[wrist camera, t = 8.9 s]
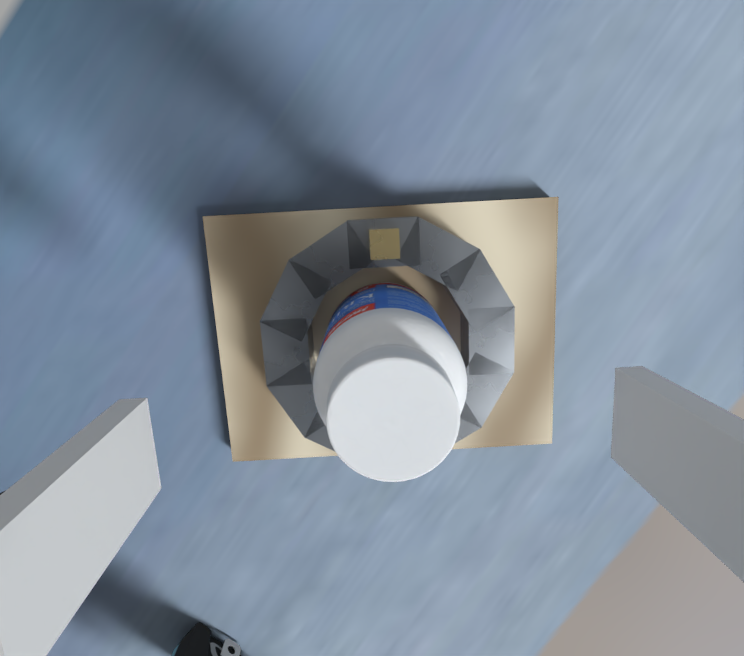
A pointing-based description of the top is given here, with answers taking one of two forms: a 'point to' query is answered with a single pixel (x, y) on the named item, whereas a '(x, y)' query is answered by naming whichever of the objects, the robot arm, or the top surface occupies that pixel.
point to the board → (303, 228)
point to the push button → (204, 644)
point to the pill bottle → (389, 383)
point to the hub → (387, 249)
